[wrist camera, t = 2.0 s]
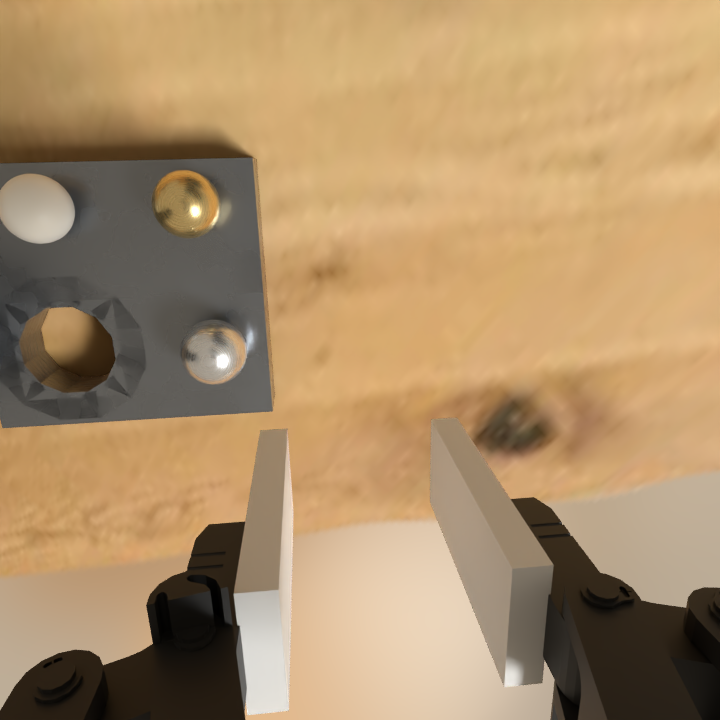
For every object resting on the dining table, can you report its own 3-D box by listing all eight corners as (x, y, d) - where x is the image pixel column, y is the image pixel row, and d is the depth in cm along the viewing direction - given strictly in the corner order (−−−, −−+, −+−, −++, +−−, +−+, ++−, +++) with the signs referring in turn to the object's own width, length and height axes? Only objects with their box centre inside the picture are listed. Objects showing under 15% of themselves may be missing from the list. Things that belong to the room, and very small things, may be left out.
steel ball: (183, 314, 28) (169, 330, 25) (246, 311, 29) (240, 327, 26) (190, 374, 29) (177, 396, 26) (252, 370, 30) (246, 392, 27)
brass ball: (156, 171, 26) (138, 170, 23) (221, 169, 27) (211, 168, 24) (165, 236, 27) (149, 242, 24) (227, 234, 27) (219, 240, 25)
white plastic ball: (10, 174, 26) (-25, 174, 23) (78, 173, 26) (51, 172, 23) (24, 241, 27) (-9, 248, 24) (90, 238, 27) (65, 246, 24)
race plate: (-31, 166, 28) (-62, 164, 25) (256, 159, 29) (252, 157, 27) (24, 409, 32) (2, 428, 29) (274, 394, 33) (272, 411, 31)
